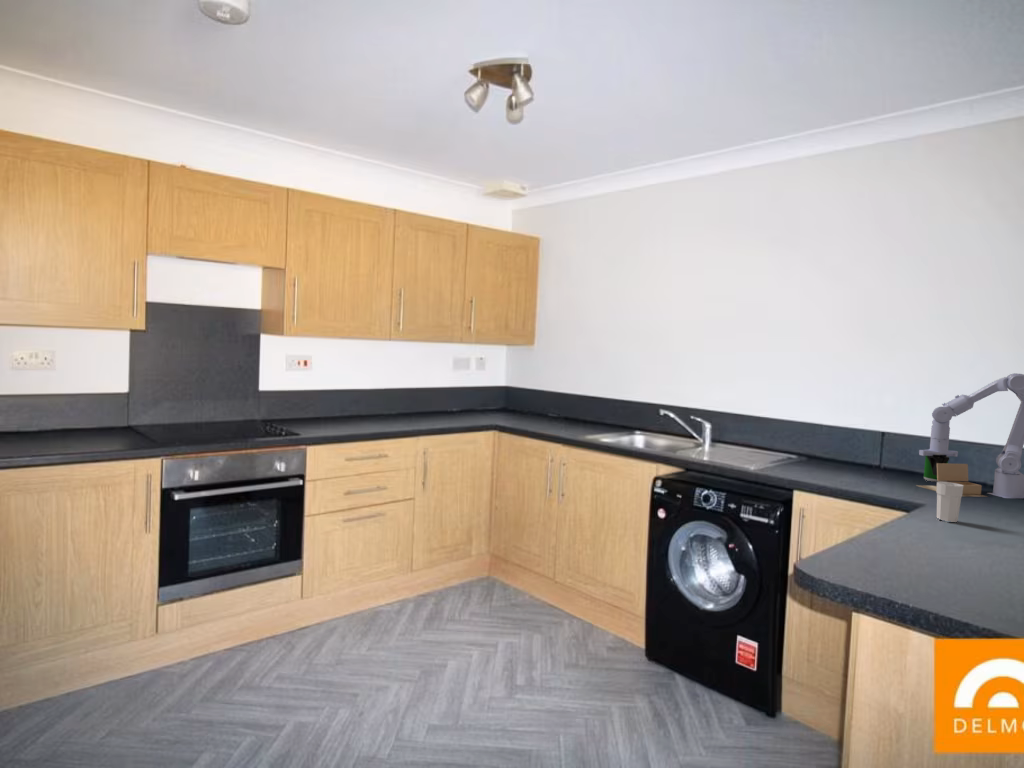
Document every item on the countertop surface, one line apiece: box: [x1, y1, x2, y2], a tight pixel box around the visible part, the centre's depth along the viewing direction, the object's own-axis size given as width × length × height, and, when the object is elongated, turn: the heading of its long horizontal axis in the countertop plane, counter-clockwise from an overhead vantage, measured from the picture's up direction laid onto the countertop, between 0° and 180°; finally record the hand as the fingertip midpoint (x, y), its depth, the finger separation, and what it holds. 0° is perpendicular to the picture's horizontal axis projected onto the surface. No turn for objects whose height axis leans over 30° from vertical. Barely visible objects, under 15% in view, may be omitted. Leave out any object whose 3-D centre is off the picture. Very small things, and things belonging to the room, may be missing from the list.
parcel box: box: [938, 481, 983, 495], centre depth 233 cm, size 12×6×4 cm, turn 99°
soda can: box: [923, 456, 950, 483], centre depth 256 cm, size 8×8×12 cm
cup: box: [936, 481, 964, 523], centre depth 192 cm, size 7×7×11 cm
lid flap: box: [937, 462, 969, 482], centre depth 236 cm, size 12×6×1 cm
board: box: [915, 484, 989, 498], centre depth 236 cm, size 14×17×1 cm
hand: (936, 475), depth 243 cm, fingers closed
